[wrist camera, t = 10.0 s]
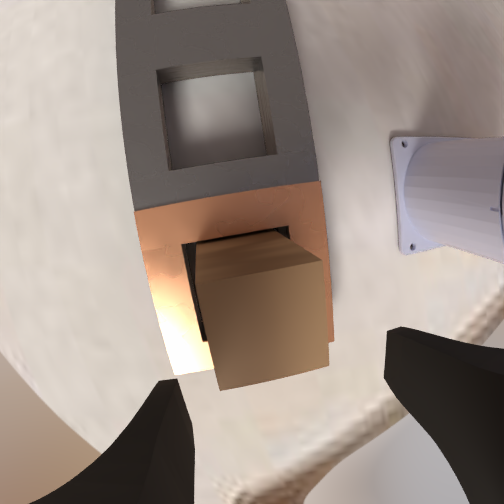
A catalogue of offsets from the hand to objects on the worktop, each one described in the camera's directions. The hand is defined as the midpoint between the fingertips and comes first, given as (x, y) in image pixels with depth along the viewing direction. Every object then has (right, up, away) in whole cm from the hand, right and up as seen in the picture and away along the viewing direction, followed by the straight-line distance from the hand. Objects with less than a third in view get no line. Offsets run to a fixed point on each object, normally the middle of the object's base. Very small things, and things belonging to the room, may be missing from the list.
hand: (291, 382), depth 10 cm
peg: (-2, +4, +9) cm, 10 cm away
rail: (-3, +12, +7) cm, 14 cm away
